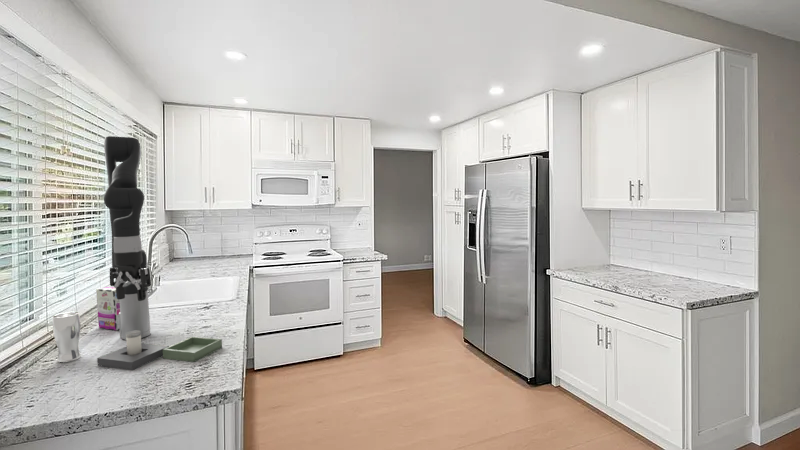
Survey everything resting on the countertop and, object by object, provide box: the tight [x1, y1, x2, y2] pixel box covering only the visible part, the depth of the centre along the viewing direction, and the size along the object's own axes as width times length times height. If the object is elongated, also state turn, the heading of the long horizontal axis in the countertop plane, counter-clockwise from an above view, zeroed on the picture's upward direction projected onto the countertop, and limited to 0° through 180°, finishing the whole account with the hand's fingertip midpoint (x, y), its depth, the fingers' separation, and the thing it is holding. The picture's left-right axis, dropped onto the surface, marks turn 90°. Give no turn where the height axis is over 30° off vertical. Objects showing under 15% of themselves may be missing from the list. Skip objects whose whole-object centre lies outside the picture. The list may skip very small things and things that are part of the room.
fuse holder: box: [96, 342, 170, 371], centre depth 133 cm, size 14×14×2 cm
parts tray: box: [162, 336, 223, 363], centre depth 137 cm, size 13×13×3 cm
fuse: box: [125, 330, 142, 356], centre depth 133 cm, size 4×4×9 cm
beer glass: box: [52, 311, 82, 363], centre depth 134 cm, size 7×7×15 cm
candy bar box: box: [95, 286, 120, 331], centre depth 166 cm, size 11×5×16 cm, turn 68°
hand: (131, 299), depth 132 cm, fingers open, 8 cm apart
